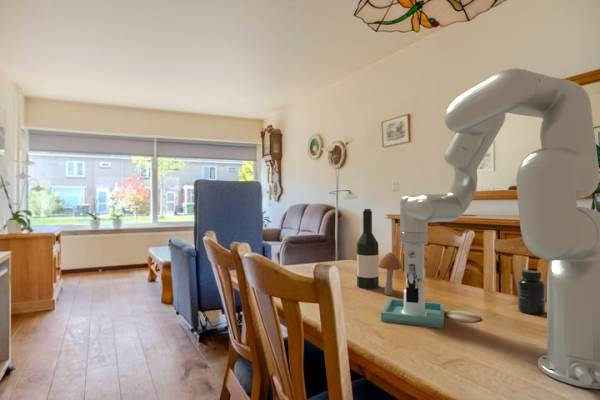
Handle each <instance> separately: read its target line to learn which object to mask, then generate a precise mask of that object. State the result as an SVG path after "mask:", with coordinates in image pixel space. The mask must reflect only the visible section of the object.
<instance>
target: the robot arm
mask: <svg viewBox="0 0 600 400" xmlns="http://www.w3.org/2000/svg"><path fill="white" fill-rule="evenodd" d="M589 96H590V95H589V93H588V92H587V90H586V89H585V88H584V87H583V86H582V85H581V84H579V83H577V82H575V81H573V80H568V79H563V78H559V77H555V76H550V75H545V74H543V73H542V74H541V73H537V72H535V71H531V70H529V69H528V70H527V69H523V68H518V67H517V68H509V69H505V70H503V71H502V70H501V71H499V72H498V73H496V74H494V75H492V76H490V77H489V78H487V79H485V80H483V81H482V82H480V83H477V85H475V86H473V87H471V88H470V89H468V90H466V91H465V92H463V93H462V94H461V95H459V96H457V97H456V98H455V99H454V100H452V102H451V103H450V104H449V106H448V108H447V109H446V112H445V114H444V122H445V125H446V127H447V129H448V130H449V131H451V132H453V133H454V136H453V138H452V139H451V142H450V143H449V144H448V147H447V149H446V151H445V152H444V156H443V157H444V160H445V162H446V163H447V164H448V165H449V166H451V167H452V168H453V169H454V173H455V174H454V175H455V176H454V179H453V183H452V185H451V186H450V188H449V189H448V192H447V193H439V194H438V193H431V194H430V193H428V194H421V195H418V194H417V195H416V194H415V195H413V194H412V195H404V196H401V198H400V200H399V213H400V214H399V216H400V217H399V220H400V223H399V228H400V229H399V231H400V233H399V234H400V235H399V239H400V241H399V242H400V244H401V245H402V244H403V246H404V247H403V248H404V249H403V250H404V251H403V252H404V254H403V256H404V260H403V261H404V264H403V265H404V278H405V279H407V280H406V281H407V282H406V283H407V287H406V288H405V289H406V301H407V302H411V303H418V301H419V294H418V288H417V286H418V279H421V280H423V281H424V278H425V275H426V269H425V268H426V267H425V259H426V257H425V246H424V245H428V242H429V239H428V234H429V233H428V223H438V222H439V223H440V222H441V223H442V222H445V223H446V222H453V221H457V220H458V219H460V218H461V217H462V216H463V215H464V214H465V212H466V211H467V209H468V208H469V206H470V204H471V203H472V201H473V200H474V197H475V195H476V193H477V187H478V168H479V166H480V165H481V163H482V161H483V159H484V157H486V154H487V153H488V151H489V149H490V148H491V146H492V144H493V143H494V141H495V139H496V138H497V135H498V134H499V132H500V130H501V129H502V128H503V125H504V124H505V121H506V114H513V115H519V116H525V117H533V118H541V119H542V122H541V126H540V132H539V138H540V144H541V145H540V146H541V148H538V149H536V150H533V151H532V152H530V153H529V154H527V156H525V157H524V158H523V160H522V161H521V163H520V165H519V167H518V169H517V173H516V180H515V182H516V184H515V185H516V193H517V195H516V196H517V202H518V203H517V204H518V207H517V208H518V218H519V225H520V233H521V237H522V240H523V243H524V245H525V246H526V248H527V249H528V251H529V252H531V253H532V255H534V256H536V257H538V258H539V259H543V260H545V261H549V262H548V263H549V264H548V267H547V276H546V279H547V280H546V287H547V288H546V318H547V319H546V321H547V322H546V329H547V330H546V343H547V344H546V345H547V346H546V348H547V351H546V354H545V355H542V356H540V357H539V358H538V360H537V365H538V368H539V370H540V371H541V372H543V373H544V374H545V375H547V376H548V377H551V378H553V379H555V380H556V381H560V382H563V383H566V384H569V385H572V386H576V387H580V388H585V389H593V390H600V211H598V210H595V209H593V208H590V207H585V206H584V207H583V206H578V205H577V203H578V202H577V200H579V199H584V198H587V197H589V196H590V195H592V194H593V193H595V191H596V190H597V189H598V187H599V184H600V167H599V166H600V165H599V159H598V151H597V143H596V142H597V141H596V136H595V135H596V134H595V130H594V123H593V110H592V103H591V98H590V97H589Z"/></svg>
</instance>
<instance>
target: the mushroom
mask: <svg viewBox="0 0 600 400" xmlns="http://www.w3.org/2000/svg"><path fill="white" fill-rule="evenodd" d="M379 268H381V269H384V270H386V281H385V284H384V285H385V286H384V294H385V295H386V296H393V292H394V291H393V277H394V271H395V270H396V271H398V270H401V269H402V268H403V267H402V265H401V262H400V260H399V259H398V257H397V256H396V255H395V254H394V253H393V252H388V253H387V254H385V255H384V256H383V257H382V259H380V261H379Z"/></svg>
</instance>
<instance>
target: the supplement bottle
mask: <svg viewBox="0 0 600 400" xmlns="http://www.w3.org/2000/svg"><path fill="white" fill-rule="evenodd" d="M521 278H522V279H519V280H518V282H517V283H518V285H517V297H518V298H517V305H518V306H517V309H518V311H519V312H521V313H524V314H528V315H535V316H537V315H539V316H540V315H542V316H543V315H544V314H545V313H546V284H545V283H544V281H542V280H541V279H542V273H541V272H540V271H538V270H537V271H536V270H528V269H526V270H525V269H524V270H522V271H521Z"/></svg>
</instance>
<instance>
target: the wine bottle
mask: <svg viewBox="0 0 600 400" xmlns="http://www.w3.org/2000/svg"><path fill="white" fill-rule="evenodd" d="M379 263H380V261H379V242H378V240H377V239H376V237H375V236H374V234H373V211H372V209H371V208H364V209H363V211H362V234H361V236H359V239H358V240H357V242H356V287H358V288H359V289H363V290H364V289H365V290H374V289H378V288H379V287H380V286H379V285H380V284H379V280H380V279H379V275H380V274H379V268H380V267H379Z"/></svg>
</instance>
